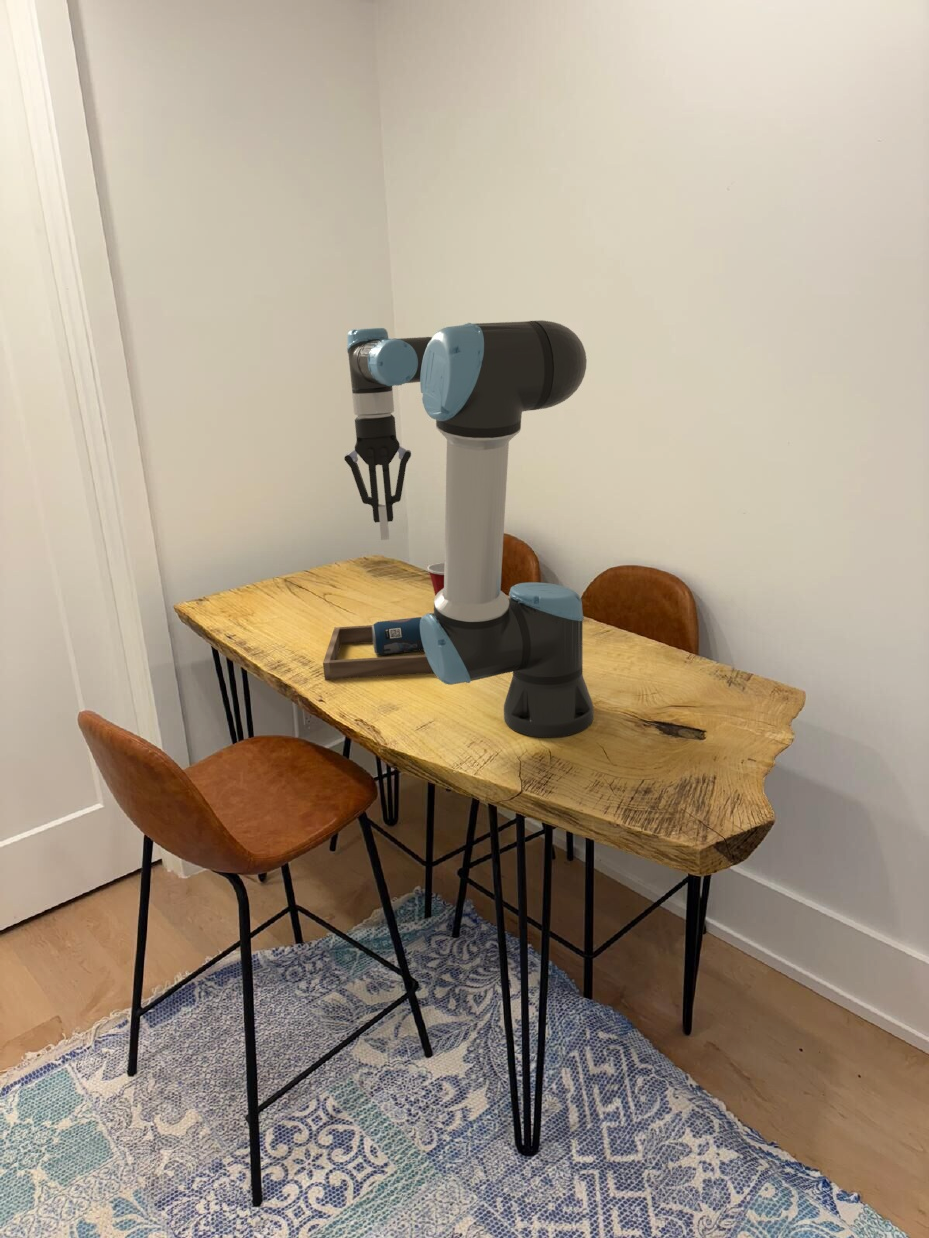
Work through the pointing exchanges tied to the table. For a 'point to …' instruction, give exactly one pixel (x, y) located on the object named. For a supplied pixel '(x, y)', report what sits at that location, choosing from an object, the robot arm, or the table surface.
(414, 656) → the walnut tray frame
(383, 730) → the table surface
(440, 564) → the plastic cup
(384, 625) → the soda can
